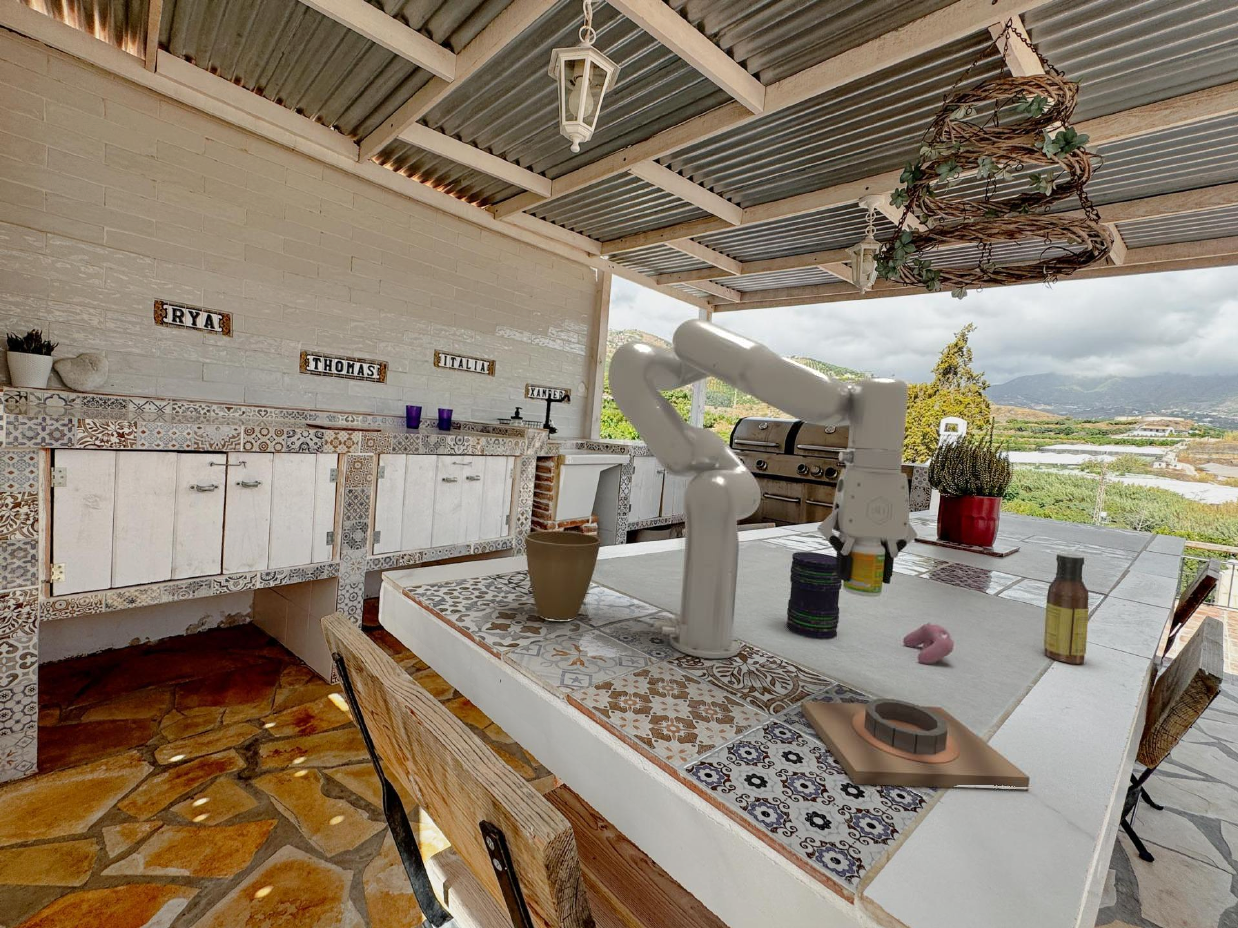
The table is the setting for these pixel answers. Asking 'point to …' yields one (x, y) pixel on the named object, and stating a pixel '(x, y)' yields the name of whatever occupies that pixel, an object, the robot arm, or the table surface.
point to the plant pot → (560, 571)
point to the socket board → (905, 770)
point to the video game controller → (930, 642)
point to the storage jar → (814, 596)
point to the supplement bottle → (866, 568)
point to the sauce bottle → (1067, 612)
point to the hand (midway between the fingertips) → (862, 579)
